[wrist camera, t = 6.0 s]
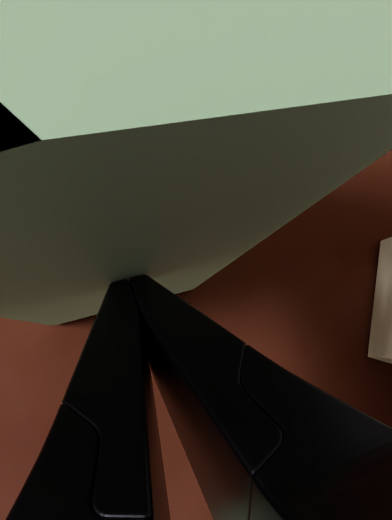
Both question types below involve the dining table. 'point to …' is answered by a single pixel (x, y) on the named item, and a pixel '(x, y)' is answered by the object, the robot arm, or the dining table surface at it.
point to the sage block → (174, 135)
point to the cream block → (382, 307)
